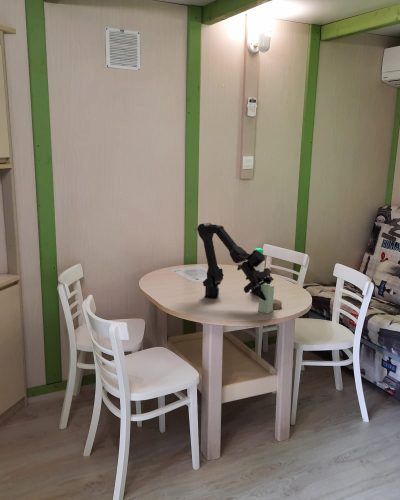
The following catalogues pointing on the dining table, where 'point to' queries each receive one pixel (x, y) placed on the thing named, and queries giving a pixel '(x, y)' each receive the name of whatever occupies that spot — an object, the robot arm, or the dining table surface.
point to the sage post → (268, 293)
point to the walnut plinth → (277, 304)
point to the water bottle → (261, 266)
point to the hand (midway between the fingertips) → (268, 298)
